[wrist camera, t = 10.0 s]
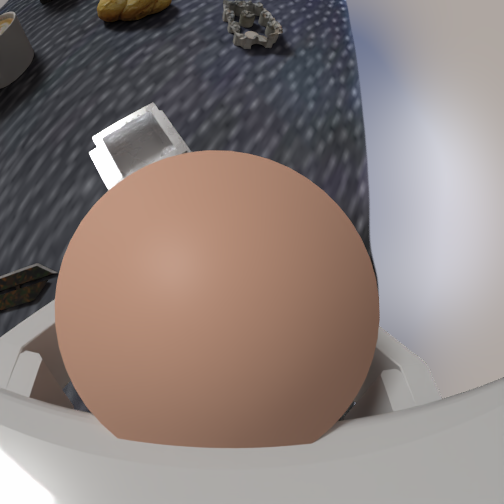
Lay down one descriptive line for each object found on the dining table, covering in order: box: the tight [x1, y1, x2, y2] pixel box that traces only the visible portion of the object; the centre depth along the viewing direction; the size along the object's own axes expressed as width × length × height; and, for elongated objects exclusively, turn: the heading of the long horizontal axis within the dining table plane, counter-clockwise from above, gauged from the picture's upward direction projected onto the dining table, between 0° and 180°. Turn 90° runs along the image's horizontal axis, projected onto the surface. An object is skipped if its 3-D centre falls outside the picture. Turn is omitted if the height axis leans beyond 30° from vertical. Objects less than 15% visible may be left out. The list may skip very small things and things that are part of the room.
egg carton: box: [223, 0, 283, 49], centre depth 37 cm, size 11×8×4 cm
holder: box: [89, 103, 191, 190], centre depth 30 cm, size 10×10×5 cm
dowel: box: [55, 150, 379, 448], centre depth 9 cm, size 4×4×12 cm
